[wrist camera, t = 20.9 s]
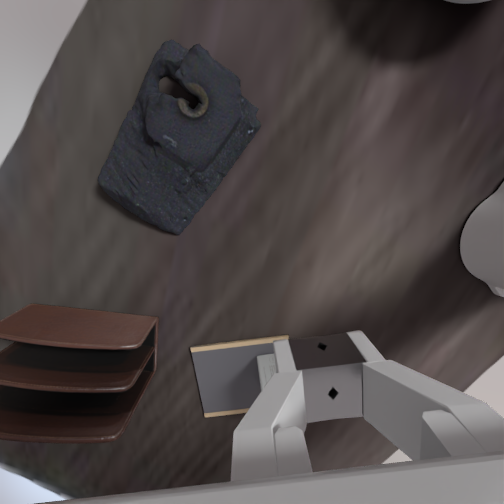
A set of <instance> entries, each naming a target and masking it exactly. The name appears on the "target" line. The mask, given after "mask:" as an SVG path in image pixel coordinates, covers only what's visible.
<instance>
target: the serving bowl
mask: <svg viewBox="0 0 504 504" xmlns="http://www.w3.org/2000/svg"><path fill="white" fill-rule="evenodd" d="M445 1H448V2H453V3H461V4H471V3H481V2H486V1H490V0H445Z"/></svg>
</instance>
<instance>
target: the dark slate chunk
mask: <svg viewBox="0 0 504 504" xmlns="http://www.w3.org/2000/svg"><path fill="white" fill-rule="evenodd" d="M165 76H170V77H173V78H174V79H175V80H176V81H178V82H179V83H180V84H181V86H182V87H183V88H184V89H185V90H186V91H187V92H188V93H189V94H191V95H192V96H194V97H195V98H197V99H198V100H199V104H197V106H196V107H195V108H194V109H191V108H190V107H191V106H190V107H189V106H188V104H189V102H188V101H186V100H185V99H183V98H174V97H173V96H171V95H168V94H165V93H161V92H160V91H159V81H160V79H161V78H163V77H165ZM191 105H192V104H191ZM257 111H258V108H257V107H255V106H254V105H252V104H251V103H250V102H249V101H248V100H247V99H245V98H244V97H243V96H241V90H240V79H239V78H238V77H237V76H236V75H235V74H234V73H232V72H231V71H230V70H229V69H226V68H225V67H223V66H222V65H221V64H220V63H218V62H217V61H215V60H214V59H213V58H212V57H211V56H210V55H209V52H208V51H207V50H205V49H203V48H202V47H201V45H200V44H196V45H194V46H193V47H192V48H191V49H190V50H188V49H185V48H183V47H182V46H181V45H180V44H179V43H176V42H175V41H174V40H170V41H167V42H164V43H163V44H162V46H161V48H160V49H159V50H158V51H157V53H156V54H155V56H154V58H153V61H152V63H151V65H150V68H149V70H148V72H147V74H146V76H145V79H144V82H143V83H142V86H141V89H140V91H139V93H138V96H137V98H136V103H135V105H134V106H133V108H132V110H130V111H129V112H128V113H127V117H126V119H125V120H124V121H123V123H122V125H121V127H120V130H119V135H118V137H117V139H116V140H115V142H114V145H113V148H112V150H111V152H110V154H109V157H108V159H107V160H106V162H105V164H104V165H103V167H102V169H101V173H100V175H99V177H98V182H99V185H100V186H101V188H102V189H103V190H104V191H105V192H106V193H107V194H108V195H109V196H110V197H111V198H112V199H113V200H115V201H116V202H118V203H119V204H121V205H122V206H123V207H124V208H125V209H127V210H128V211H130V212H132V213H134V214H135V215H137V216H138V217H139V218H141V219H142V220H144V221H147V222H148V223H150V224H153V225H157V227H158V228H160V229H161V230H164V231H167V232H172V233H175V234H177V235H179V234H180V233H181V232H182V231H183V230H184V228H186V227H187V226H188V225H189V224H190V222H191V220H192V218H193V216H194V215H195V214H196V213H197V212H198V211H199V210H200V208H201V207H202V206H203V205H204V204H205V201H206V200H208V198H209V197H210V196H211V195H212V193H213V192H214V191H215V190H216V188H217V187H218V186H219V184H220V183H221V181H222V180H223V177H225V176H226V175H227V173H228V171H229V170H230V169H231V168H232V166H233V165H234V163H235V162H236V160H237V159H238V158H239V156H240V155H241V153H242V152H243V150H244V149H245V148H246V147H247V145H248V143H249V142H250V141H251V140H252V139H253V138H254V136H255V134H256V133H257V131H258V130H259V129H260V127H261V124H260V122H259V121H258V120H257V119H256V113H257Z"/></svg>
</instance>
